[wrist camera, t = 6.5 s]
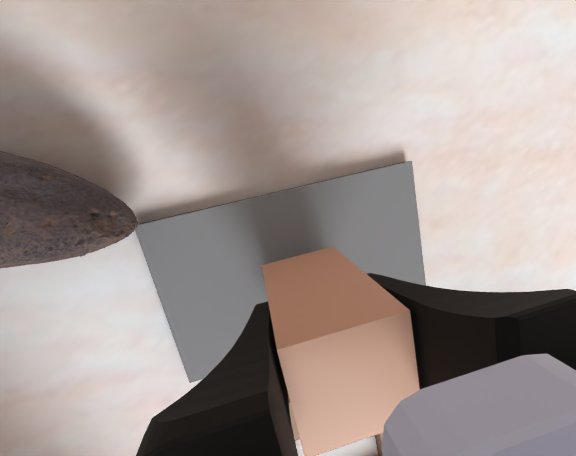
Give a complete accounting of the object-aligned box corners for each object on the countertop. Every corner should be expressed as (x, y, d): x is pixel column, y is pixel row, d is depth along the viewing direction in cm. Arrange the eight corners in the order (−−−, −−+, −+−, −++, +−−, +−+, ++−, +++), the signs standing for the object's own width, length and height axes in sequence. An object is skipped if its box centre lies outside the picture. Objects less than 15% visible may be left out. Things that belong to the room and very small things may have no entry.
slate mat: (191, 375, 17) (189, 382, 16) (138, 224, 15) (133, 226, 14) (422, 306, 19) (428, 310, 18) (405, 161, 16) (411, 161, 16)
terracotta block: (278, 330, 15) (305, 459, 8) (261, 265, 14) (277, 350, 7) (345, 311, 15) (423, 418, 9) (333, 246, 15) (409, 310, 8)
